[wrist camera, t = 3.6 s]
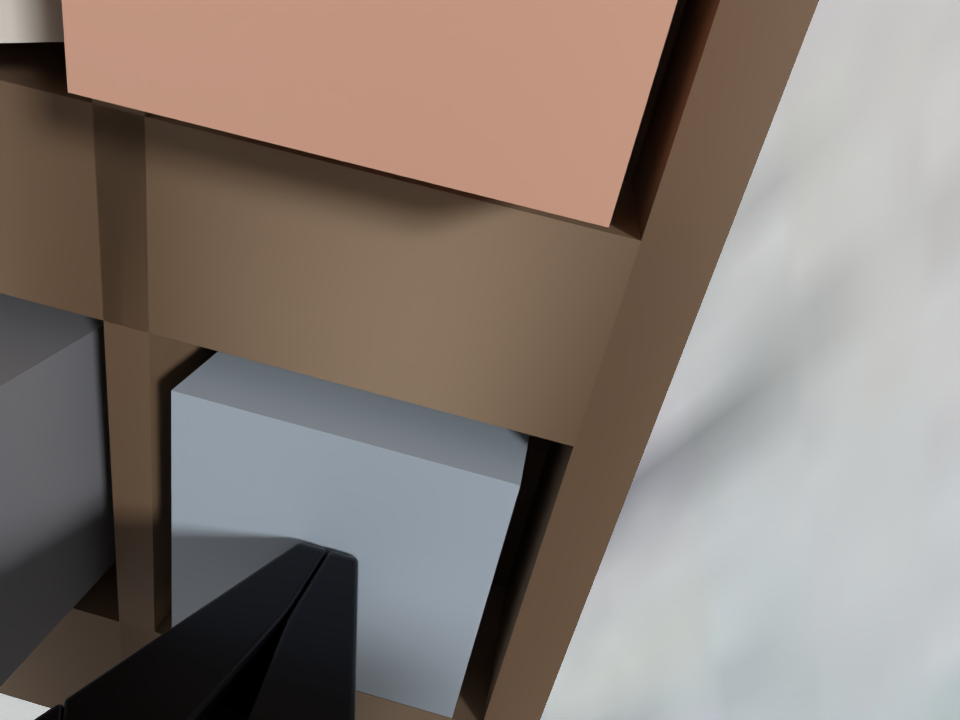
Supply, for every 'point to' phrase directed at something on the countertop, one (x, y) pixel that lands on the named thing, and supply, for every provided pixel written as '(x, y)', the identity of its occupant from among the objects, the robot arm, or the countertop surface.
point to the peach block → (396, 83)
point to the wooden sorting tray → (384, 315)
